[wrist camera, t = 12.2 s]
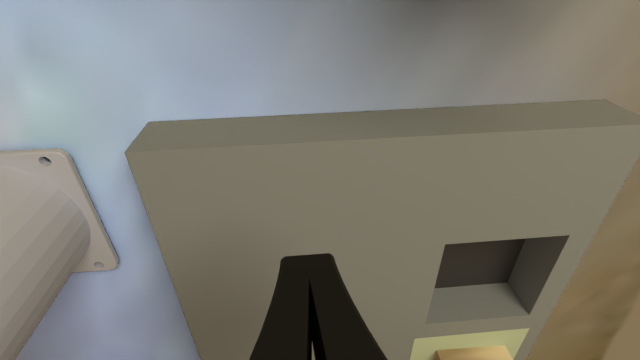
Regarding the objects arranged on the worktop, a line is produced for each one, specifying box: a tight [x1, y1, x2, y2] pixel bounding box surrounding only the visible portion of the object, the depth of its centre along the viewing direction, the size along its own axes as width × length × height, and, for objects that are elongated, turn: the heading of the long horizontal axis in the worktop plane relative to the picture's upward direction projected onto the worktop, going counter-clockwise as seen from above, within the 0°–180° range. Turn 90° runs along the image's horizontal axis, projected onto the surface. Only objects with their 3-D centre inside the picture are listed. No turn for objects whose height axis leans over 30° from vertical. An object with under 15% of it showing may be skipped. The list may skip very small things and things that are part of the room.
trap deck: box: [125, 100, 640, 360], centre depth 25 cm, size 23×32×3 cm
